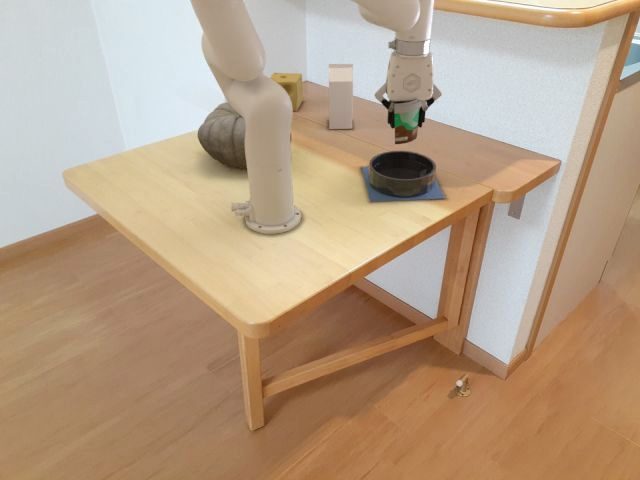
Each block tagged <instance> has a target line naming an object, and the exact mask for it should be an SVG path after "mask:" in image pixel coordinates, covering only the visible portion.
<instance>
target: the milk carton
mask: <svg viewBox="0 0 640 480" xmlns="http://www.w3.org/2000/svg"><path fill="white" fill-rule="evenodd" d="M353 107H354V64H353V63H328V125H329V126H328V129H329V130H352V129H353V114H354V113H353V111H354V110H353Z"/></svg>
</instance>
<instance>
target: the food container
mask: <svg viewBox="0 0 640 480" xmlns="http://www.w3.org/2000/svg"><path fill="white" fill-rule="evenodd" d="M422 105H423V103H422V101H418V99H416V100H414V101H401V102H396V104H395V107H394V114H395V128H394V145H403V144H409V143H411V142H413V141H415V140H416V139H417V137H418V131H419V127H418V121H419V111H420V107H421V106H422Z"/></svg>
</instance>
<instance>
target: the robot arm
mask: <svg viewBox="0 0 640 480" xmlns="http://www.w3.org/2000/svg"><path fill="white" fill-rule="evenodd" d="M189 1H190V4H191V7H192V9H193V11H194V14H195V16H196V18H197V20H198V22H199V24H200V27H201V29H202V32H203V33H202V37H201V40H200V41H201V50H202V54H203V57H204V59H205V62H206V63H207V66H208V67H209V70H210V71H211V74H212V76H213V77H214V80H215V81H216V83H217V85H218V86H219V88H220V90H221V92H222V94H223V96H224V98H225V99H226V101H227V102H229V104H230V105H231V106H232V108H233V109H234V110H235V111H237V112H238V113H239V114H240V115H241V116H242V117H243V118H244V120H245V124H246V132H245V156H246V163H247V168H246V169H247V171H246V172H247V180H248V181H247V182H248V189H249V200H245V202H231V203H230V208H231V212H235V216H236V217H242V216H244V218H245V219H244V221H245V225H246V226H247V227H248V228H249V229H250V230H253V231H254V232H257V233H260V234H266V235H272V234H273V235H276V234H282V233H286V232H288V231H290V230H293V229H295V228H296V227H297V226H298V225H299V224H300V222H301V221H302V212H301V210H300V209H299V208H298V206H296V205H295V204H294V184H293V182H294V181H293V164H292V146H291V143H292V142H291V143H290V135H291V136H292V131H291V130H292V123H293V114H294V111H293V107H292V102H291V99H290V97H289V95H288V93H287V92H286V91H285V89H284V88H283V87H282V86H280V85H279V84H278V83H276V82H275V81H273V80H272V79H270V77H269V76H268V75H265V73H264V72H263V71H264V70H265V67H266V62H267V56H266V50H265V47H264V45H263V42H262V40H261V39H260V36H259V34H258V31H257V30H256V28H255V26H254V24H253V21H252V19H251V17H250V14H249V12H248V10H247V7H246V5H245V2H244V0H189ZM350 1H351V2H353V3H356V4H357V8H358V9H357V10H358V12H359V15H360V16H361V18H362V19H363V20H364V21H366V22H367V23H370V24H372V25H375V26H378V27H381V28H384V29H387V30H390V31H392V32H395V33H394V34H395V35H394V38H393V40H392V41H388V42H387V49H391V50H393V51H391V53H390V56H389V61H388V64H387V65H388V66H387V71H386V79H385V82H384V84H383V85H382V86H381V87H380V88H379V89H378V90H377V91H376V92H375V93H374V98H375V99H376V100H377V101H378V102H379V103H380V104H382V106H383V107H384V108H385V109H386V110H387V124H388V125H389V126H390V128H391V129H395V114H394V107H395V104H396V102H401V101H414V100H416V99H418V101H422V103H423V105H422V106H421V107H420V111H419V121H418V128H423V123H425V121H426V111H428V109H429V108H430V107H431V106H432V105H433V104H434V103H435V102H436V101H437V100H438V99H439V98H440V97H442V95H443V93H442V91H441V90H440V89H439V88H438V86H437V85H436V84H435V83H434V75H435V74H434V73H435V72H434V69H435V67H434V54H433V53H432V52H431V51H430V47H431V36H432V29H433V20H434V19H433V17H434V9H435V0H350ZM385 94H386V96H387V98H386V97H384V95H385Z"/></svg>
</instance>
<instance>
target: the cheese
mask: <svg viewBox="0 0 640 480" xmlns="http://www.w3.org/2000/svg"><path fill="white" fill-rule="evenodd" d="M269 78H270V79H272V80H273V81H275V82H276V83H278V84H279V85H280V86H282V87H283V88H284V89H285V91H286V92H287V93H288V95H289V97H290V99H291V102H292V107H293V112H297V111H298V110H299V108H300V106H301V104H302V103H303V99H304V98H303V96H304V95H303V94H304V93H303V76H302V73H299V72H298V73H291V72H288V73H287V72H286V73H285V72H284V73H283V72H273V74H271V76H270V77H269Z"/></svg>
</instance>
